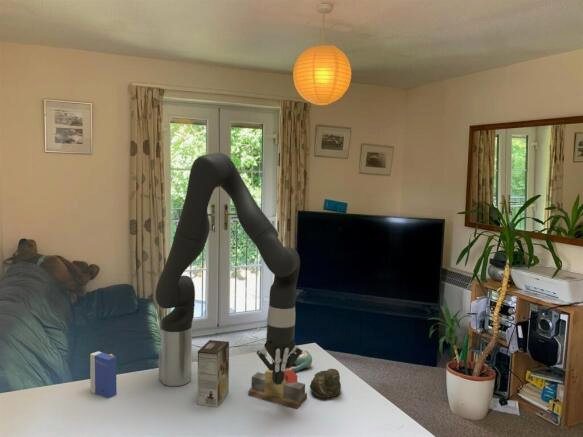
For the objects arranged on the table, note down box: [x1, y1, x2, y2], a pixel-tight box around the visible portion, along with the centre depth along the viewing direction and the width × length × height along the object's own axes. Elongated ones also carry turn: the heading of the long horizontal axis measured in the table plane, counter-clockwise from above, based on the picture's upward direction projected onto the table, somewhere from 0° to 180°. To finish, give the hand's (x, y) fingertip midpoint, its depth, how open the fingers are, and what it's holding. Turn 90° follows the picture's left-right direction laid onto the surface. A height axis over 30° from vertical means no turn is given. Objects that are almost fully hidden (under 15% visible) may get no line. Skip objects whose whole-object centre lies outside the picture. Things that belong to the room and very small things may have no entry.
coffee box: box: [197, 339, 230, 408], centre depth 130 cm, size 9×6×16 cm
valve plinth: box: [247, 368, 308, 410], centre depth 132 cm, size 16×7×8 cm, turn 65°
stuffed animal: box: [287, 349, 313, 373], centre depth 153 cm, size 11×7×12 cm
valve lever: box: [284, 368, 298, 383], centre depth 127 cm, size 12×3×3 cm, turn 21°
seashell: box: [309, 368, 342, 399], centre depth 136 cm, size 11×12×10 cm
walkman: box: [89, 351, 117, 399], centre depth 131 cm, size 8×3×12 cm, turn 63°
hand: (277, 383), depth 122 cm, fingers closed
